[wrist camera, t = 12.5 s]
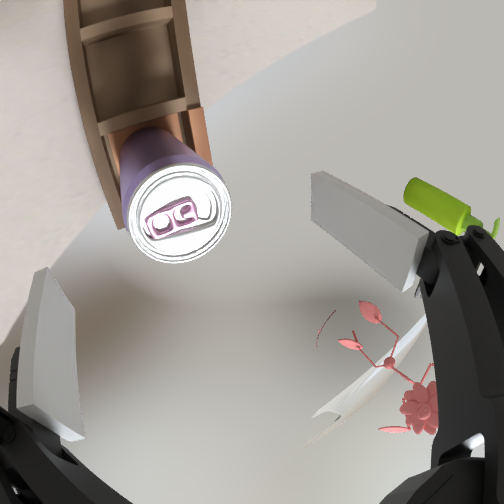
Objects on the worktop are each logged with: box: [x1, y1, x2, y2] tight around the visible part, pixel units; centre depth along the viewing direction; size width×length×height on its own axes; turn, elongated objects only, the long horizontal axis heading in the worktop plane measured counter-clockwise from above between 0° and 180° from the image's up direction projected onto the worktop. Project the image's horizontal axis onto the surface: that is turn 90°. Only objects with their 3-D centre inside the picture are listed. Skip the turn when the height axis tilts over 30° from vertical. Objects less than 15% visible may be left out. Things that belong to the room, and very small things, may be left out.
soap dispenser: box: [404, 178, 500, 239], centre depth 41 cm, size 6×7×20 cm
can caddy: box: [63, 0, 213, 230], centre depth 19 cm, size 10×28×4 cm, turn 7°
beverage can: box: [119, 127, 232, 263], centre depth 20 cm, size 6×6×15 cm
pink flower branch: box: [318, 301, 439, 435], centre depth 49 cm, size 15×26×35 cm, turn 162°
